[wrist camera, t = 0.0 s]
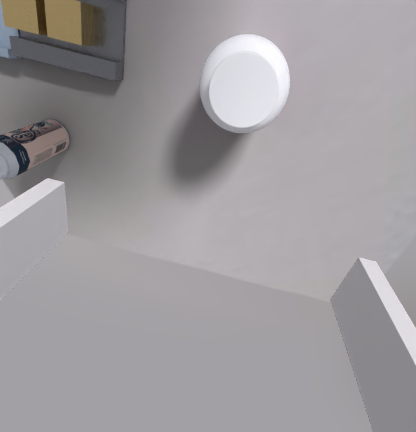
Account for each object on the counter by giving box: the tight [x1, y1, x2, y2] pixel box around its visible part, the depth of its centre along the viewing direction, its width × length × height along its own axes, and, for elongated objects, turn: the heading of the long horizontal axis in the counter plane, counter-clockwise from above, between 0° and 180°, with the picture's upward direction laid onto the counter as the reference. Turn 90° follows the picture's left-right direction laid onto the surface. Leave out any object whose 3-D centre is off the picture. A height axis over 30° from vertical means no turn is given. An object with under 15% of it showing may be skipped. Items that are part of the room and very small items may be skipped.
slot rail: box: [9, 0, 126, 81], centre depth 32 cm, size 10×13×2 cm
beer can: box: [0, 119, 70, 179], centre depth 36 cm, size 5×5×12 cm
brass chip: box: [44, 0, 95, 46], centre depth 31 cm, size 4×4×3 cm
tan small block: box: [1, 0, 47, 35], centre depth 31 cm, size 4×4×3 cm
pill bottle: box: [199, 34, 290, 133], centre depth 27 cm, size 8×8×14 cm
